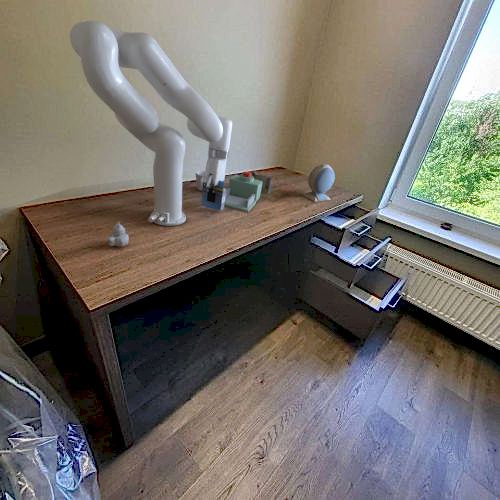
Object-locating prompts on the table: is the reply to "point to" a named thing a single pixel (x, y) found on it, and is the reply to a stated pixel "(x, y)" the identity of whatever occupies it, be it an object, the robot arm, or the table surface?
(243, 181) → the red push button box
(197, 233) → the table surface
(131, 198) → the table surface
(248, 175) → the button
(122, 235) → the grey lumpy cone shape
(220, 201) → the label tape box
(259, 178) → the architectural model on board
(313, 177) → the alarm clock
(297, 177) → the table surface
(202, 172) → the cup
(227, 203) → the drip tray
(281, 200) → the table surface
